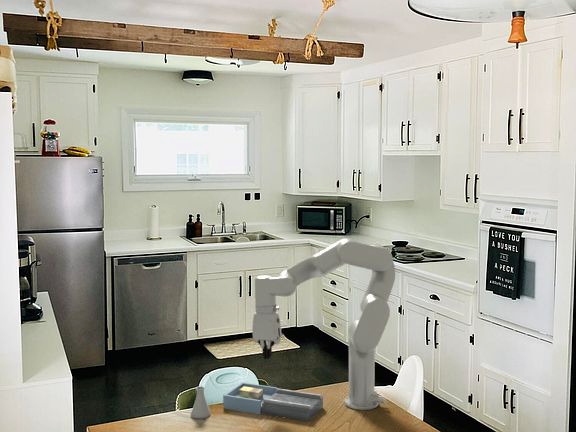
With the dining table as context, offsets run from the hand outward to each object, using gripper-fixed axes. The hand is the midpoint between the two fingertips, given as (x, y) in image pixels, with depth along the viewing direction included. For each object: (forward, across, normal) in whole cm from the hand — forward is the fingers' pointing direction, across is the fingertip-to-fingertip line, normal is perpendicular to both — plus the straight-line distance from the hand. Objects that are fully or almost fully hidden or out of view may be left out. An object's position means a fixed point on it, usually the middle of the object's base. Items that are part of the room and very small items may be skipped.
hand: (267, 358), depth 226 cm
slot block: (+18, -10, +2) cm, 21 cm away
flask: (+18, +19, +18) cm, 31 cm away
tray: (+18, +7, +2) cm, 19 cm away
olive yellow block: (+15, +9, +1) cm, 18 cm away
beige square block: (+15, +5, +1) cm, 16 cm away
